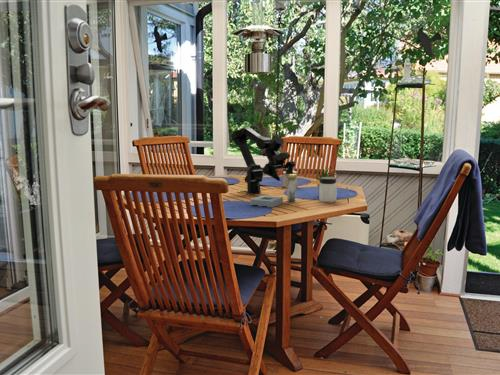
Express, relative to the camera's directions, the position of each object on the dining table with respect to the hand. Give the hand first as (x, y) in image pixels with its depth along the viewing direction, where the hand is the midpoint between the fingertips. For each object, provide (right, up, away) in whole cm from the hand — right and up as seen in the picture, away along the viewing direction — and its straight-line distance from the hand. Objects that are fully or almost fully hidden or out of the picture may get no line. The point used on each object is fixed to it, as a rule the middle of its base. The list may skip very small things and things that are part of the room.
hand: (286, 179), depth 247 cm
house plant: (+21, -9, +13) cm, 26 cm away
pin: (+2, -11, -1) cm, 12 cm away
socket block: (-10, -12, -8) cm, 18 cm away
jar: (+21, -11, 0) cm, 24 cm away
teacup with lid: (+4, -4, +44) cm, 44 cm away
